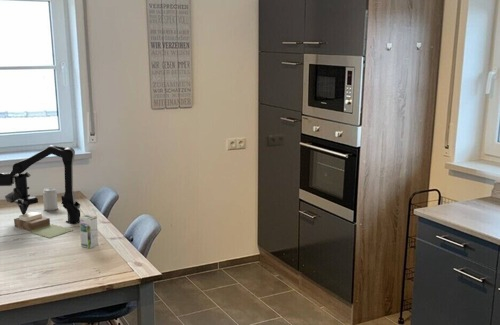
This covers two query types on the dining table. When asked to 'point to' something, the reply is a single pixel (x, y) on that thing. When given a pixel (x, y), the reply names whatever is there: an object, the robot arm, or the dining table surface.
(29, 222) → the brown flat block
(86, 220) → the syrup box
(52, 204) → the can
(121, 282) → the dining table surface
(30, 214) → the cream chamfered block
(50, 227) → the mat
